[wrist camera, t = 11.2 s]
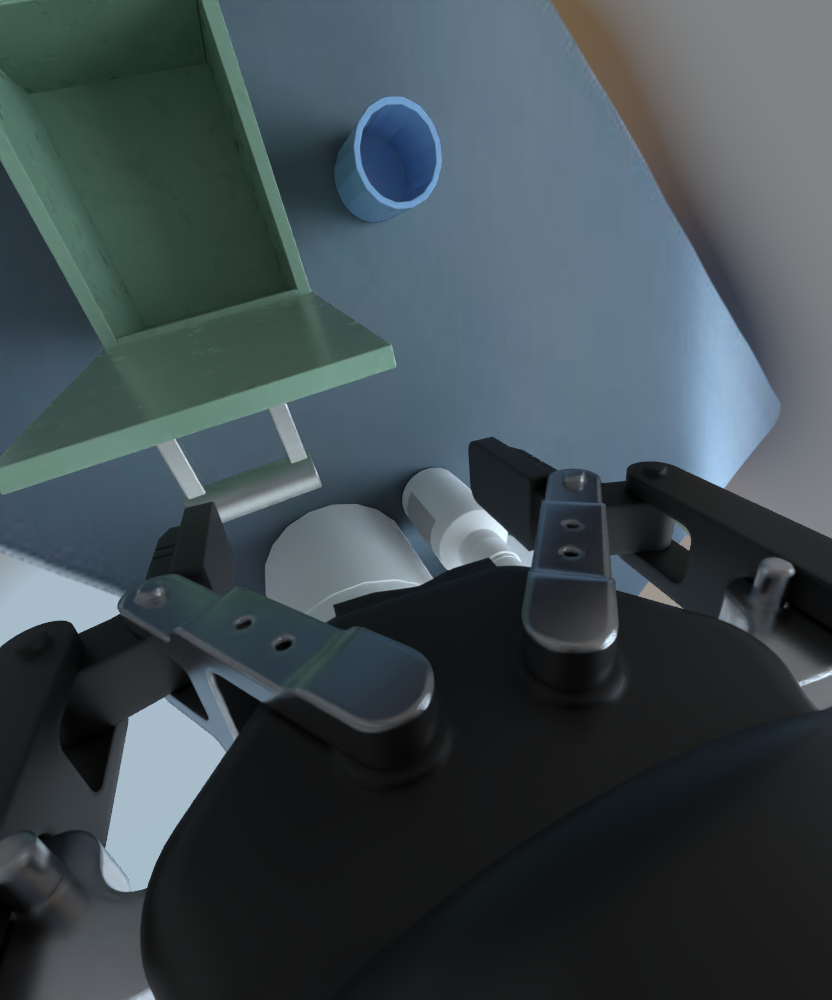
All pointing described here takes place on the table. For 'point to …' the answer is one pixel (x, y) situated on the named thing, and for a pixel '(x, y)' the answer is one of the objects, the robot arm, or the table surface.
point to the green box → (142, 162)
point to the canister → (340, 559)
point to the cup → (388, 160)
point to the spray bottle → (454, 521)
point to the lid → (202, 399)
